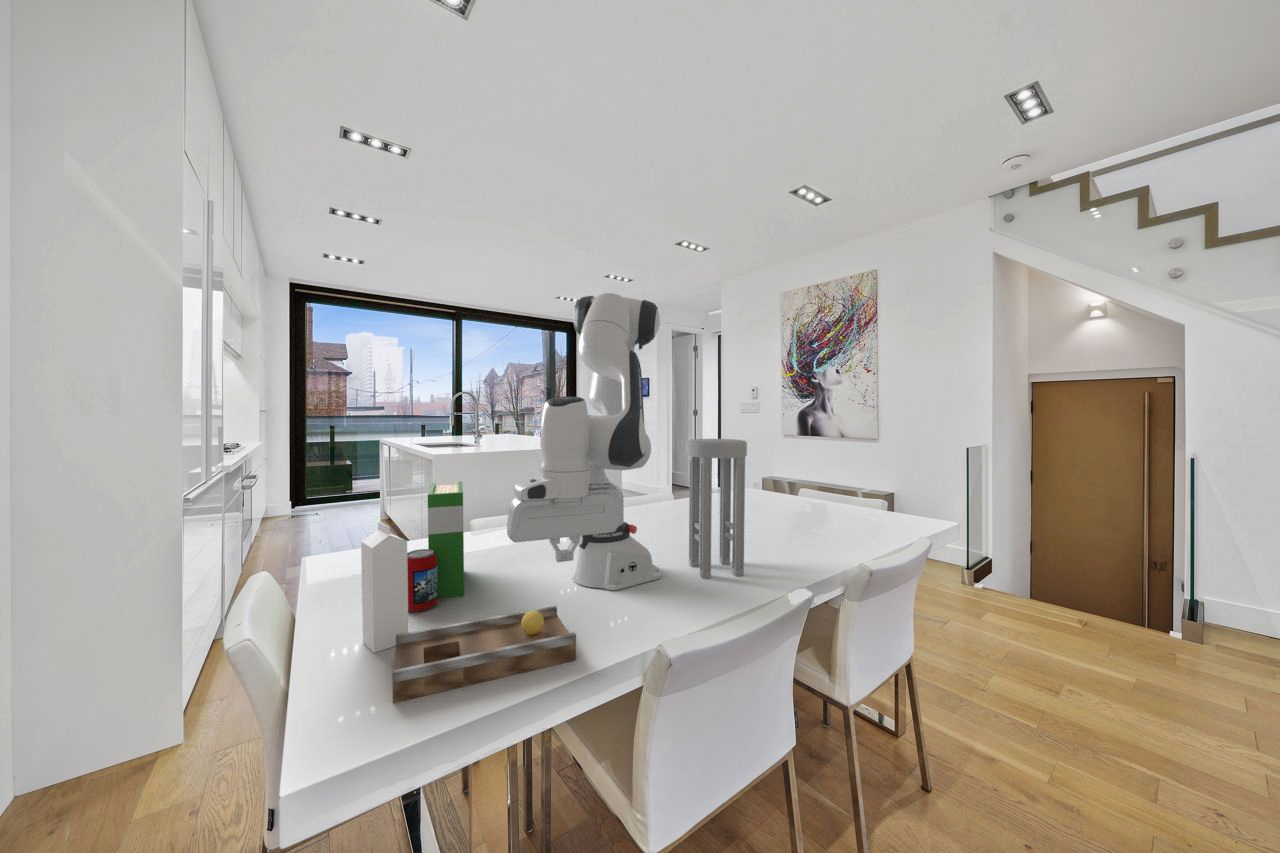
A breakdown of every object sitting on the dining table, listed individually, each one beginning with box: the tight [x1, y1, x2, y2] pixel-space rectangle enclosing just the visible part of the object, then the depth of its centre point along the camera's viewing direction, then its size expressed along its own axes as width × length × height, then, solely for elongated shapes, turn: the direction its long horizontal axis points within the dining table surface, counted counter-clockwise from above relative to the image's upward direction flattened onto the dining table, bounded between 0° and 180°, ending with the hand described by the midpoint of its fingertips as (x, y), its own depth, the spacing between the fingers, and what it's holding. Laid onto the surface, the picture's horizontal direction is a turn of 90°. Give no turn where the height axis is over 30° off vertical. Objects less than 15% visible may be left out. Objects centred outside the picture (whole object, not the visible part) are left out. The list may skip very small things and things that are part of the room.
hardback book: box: [427, 481, 465, 600], centre depth 115 cm, size 18×7×24 cm, turn 21°
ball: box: [521, 610, 544, 635], centre depth 84 cm, size 4×4×4 cm
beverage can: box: [407, 548, 439, 613], centre depth 102 cm, size 7×7×12 cm
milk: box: [360, 521, 409, 654], centre depth 87 cm, size 6×6×22 cm
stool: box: [685, 438, 748, 580], centre depth 126 cm, size 16×16×35 cm
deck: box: [391, 605, 577, 704], centre depth 81 cm, size 28×13×4 cm, turn 115°
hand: (564, 560), depth 86 cm, fingers closed
